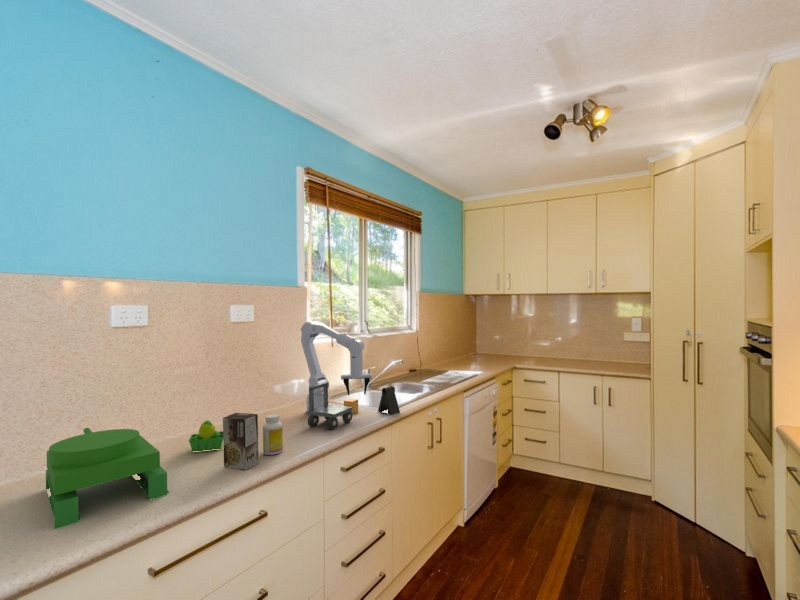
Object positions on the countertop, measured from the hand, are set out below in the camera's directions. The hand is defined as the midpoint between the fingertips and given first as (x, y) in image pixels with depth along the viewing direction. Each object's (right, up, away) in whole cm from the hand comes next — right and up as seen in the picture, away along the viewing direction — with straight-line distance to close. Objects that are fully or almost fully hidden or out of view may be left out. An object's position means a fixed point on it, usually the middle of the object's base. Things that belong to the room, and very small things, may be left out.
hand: (356, 394), depth 189 cm
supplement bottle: (-24, -9, -48) cm, 54 cm away
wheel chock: (-4, -10, +3) cm, 11 cm away
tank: (-64, -10, -74) cm, 99 cm away
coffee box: (-31, -9, -59) cm, 67 cm away
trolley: (-10, -4, -15) cm, 18 cm away
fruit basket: (-49, -10, -44) cm, 67 cm away
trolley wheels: (-10, -9, -15) cm, 20 cm away
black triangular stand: (+15, -10, +3) cm, 18 cm away
